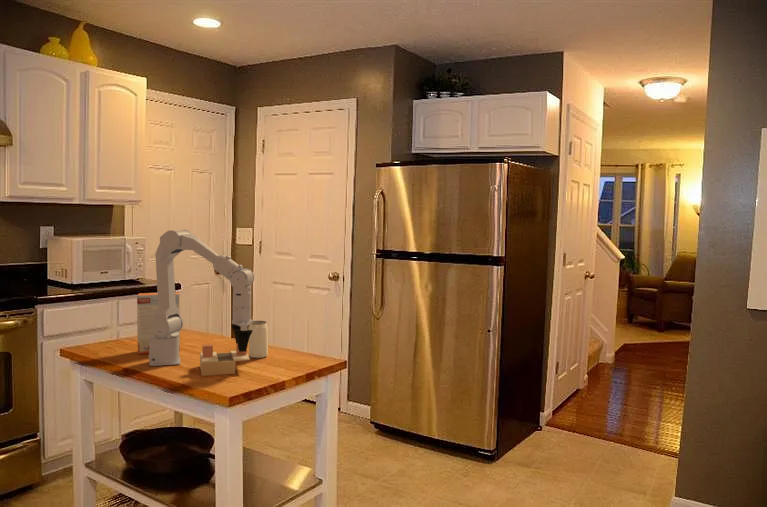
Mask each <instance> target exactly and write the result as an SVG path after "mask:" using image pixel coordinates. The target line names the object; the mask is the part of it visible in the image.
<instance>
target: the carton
mask: <svg viewBox="0 0 767 507" xmlns="http://www.w3.org/2000/svg"><path fill="white" fill-rule="evenodd" d="M216 354H217V357H218V362H204V363H202V359H201V353H200V354H199V368H200V373H201V377H205V376H220V375H235V374H236V361H234V360H233V357H232V355H231V351H230V352H216Z"/></svg>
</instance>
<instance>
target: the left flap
mask: <svg viewBox="0 0 767 507" xmlns="http://www.w3.org/2000/svg"><path fill="white" fill-rule="evenodd" d="M201 350H202V352H200V354H201V359H202V363H204V362H218V357H217V354H216V353H217V351H214V345H213V344H202V349H201Z"/></svg>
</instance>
